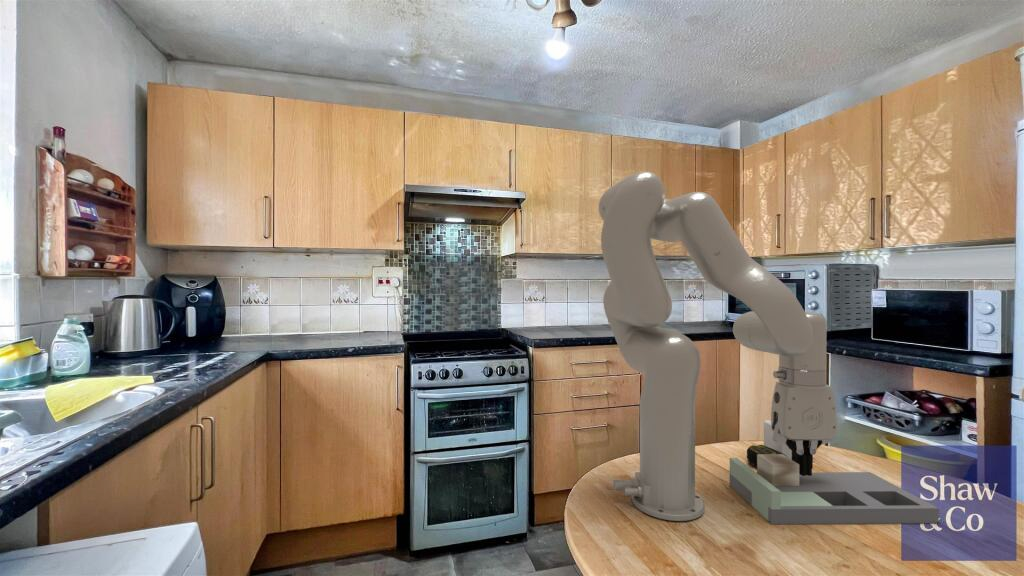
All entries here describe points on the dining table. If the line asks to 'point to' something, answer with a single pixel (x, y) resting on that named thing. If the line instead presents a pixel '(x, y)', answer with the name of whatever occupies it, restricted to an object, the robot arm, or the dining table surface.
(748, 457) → the tape measure
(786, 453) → the medicine bottle
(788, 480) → the block
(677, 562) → the dining table surface
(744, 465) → the grey green slotted tray
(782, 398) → the robot arm
